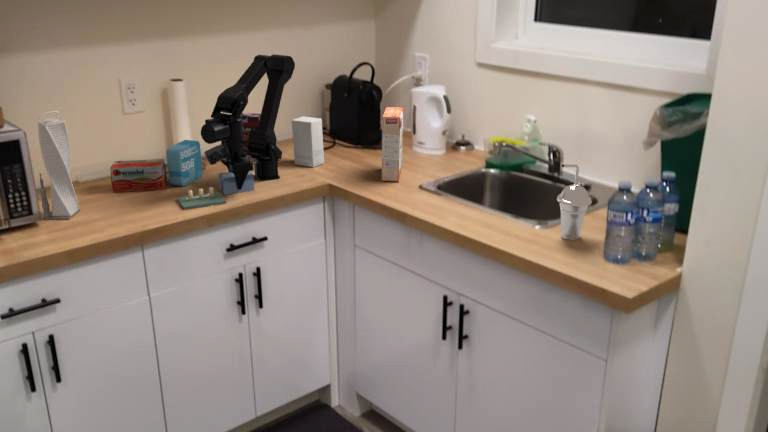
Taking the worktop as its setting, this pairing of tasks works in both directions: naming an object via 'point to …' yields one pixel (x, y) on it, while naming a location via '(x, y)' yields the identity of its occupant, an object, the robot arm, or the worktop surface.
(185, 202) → the header board
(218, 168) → the worktop surface
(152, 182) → the medicine box
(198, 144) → the data package
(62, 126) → the skyscraper
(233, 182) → the housing
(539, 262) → the worktop surface
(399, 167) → the cracker box
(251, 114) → the supplement box
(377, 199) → the worktop surface
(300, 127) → the skincare box
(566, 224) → the cup with straw
